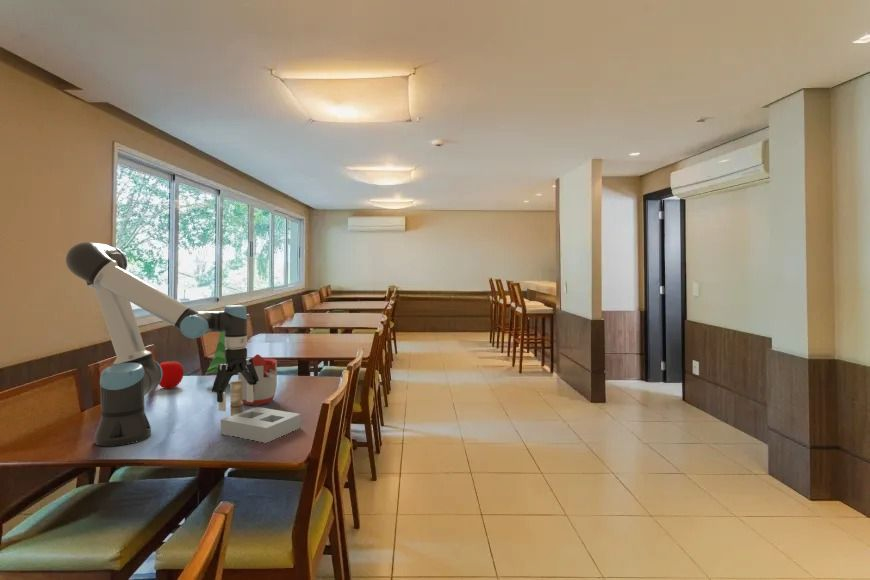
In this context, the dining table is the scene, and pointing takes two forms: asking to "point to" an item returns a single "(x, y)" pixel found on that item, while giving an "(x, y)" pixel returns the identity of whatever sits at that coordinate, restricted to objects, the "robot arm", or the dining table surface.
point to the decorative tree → (218, 355)
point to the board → (260, 424)
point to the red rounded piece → (171, 374)
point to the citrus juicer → (261, 381)
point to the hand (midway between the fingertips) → (236, 406)
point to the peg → (236, 397)
